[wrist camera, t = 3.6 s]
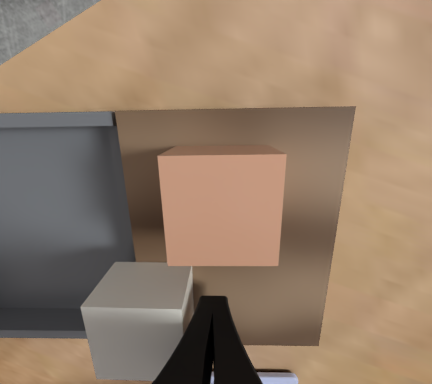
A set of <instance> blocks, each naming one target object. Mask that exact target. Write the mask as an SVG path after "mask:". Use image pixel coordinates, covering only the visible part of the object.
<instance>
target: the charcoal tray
mask: <svg viewBox="0 0 432 384" xmlns="http://www.w3.org/2000/svg"><path fill="white" fill-rule="evenodd" d="M115 262H136V258H135V251H134V244H133V237H132V230H131V223H130V216H129V208H128V201H127V194H126V187H125V180H124V173H123V166H122V158H121V151H120V144H119V137H118V130H117V123H116V116H115V112H112V111H107V112H55V113H2V114H0V338H83V339H87V334H86V330H85V325H84V321H83V317H82V312H81V308H80V307H81V305H82V304H83V303H84V302H85V300H86V299H87V298H88V296H89V295H90V294H91V293H92V291H93V290H94V289H95V287H96V286H97V285H98V283H99V282H100V281H101V280H102V278H103V277H104V276H105V274H106V273H107V272H108V271H109V269H110V268H111V267H112V265H113V264H114V263H115Z"/></svg>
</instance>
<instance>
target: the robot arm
mask: <svg viewBox="0 0 432 384" xmlns="http://www.w3.org/2000/svg"><path fill="white" fill-rule="evenodd" d="M212 365H213V366H214V372H213V371H212ZM152 384H298V379H297V376H296V374H294V373H278V372H256V370H255V368H254V367H253V365H252V363H251V361H250V359H249V357H248V355H247V353H246V350H245V348H244V346H243V344H242V342H241V339H240V337H239V334H238V332H237V329H236V327H235V324H234V321H233V318H232V315H231V312H230V308H229V304H228V298H227V297H226V296H203V295H202V296H201V297H200V298H199V302H198V304H197V307H196V310H195V312H194V314H193V316H192V319H191V321H190V323H189V325H188V327H187V329H186V331H185V333H184V335H183V336H182V338H181V340H180V342H179V343H178V345H177V347H176V349H175V350H174V352H173V354H172V355H171V357H170V358H169V360H168V361H167V363H166V364H165V366H164V367H163V369H162V370H161V372H160V373H159V375H158V376H157V377H156V379H155V380H154V381H153V383H152Z"/></svg>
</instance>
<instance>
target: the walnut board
mask: <svg viewBox="0 0 432 384" xmlns="http://www.w3.org/2000/svg"><path fill="white" fill-rule="evenodd" d="M355 108H356V106H350V107H297V108H245V109H192V110H140V111H115V116H116V123H117V130H118V137H119V144H120V151H121V158H122V166H123V173H124V180H125V187H126V194H127V201H128V208H129V216H130V223H131V230H132V237H133V244H134V251H135V258H136V262H162V263H167V254H166V243H165V232H164V221H163V211H162V200H161V189H160V178H159V168H158V157H157V156H158V155H160V154H162V153H164V152H166V151H168V150H170V149H172V148H174V147H175V146H223V145H269V146H271V147H273V148H275V149H277V150H279V151H281V152H283V153H285V154H287V157H286V171H285V184H284V197H283V210H282V224H281V237H280V250H279V263H278V266H192V274H193V299H194V312H195V310H196V307H197V304H198V302H199V298H200V297H201V296H202V295H203V296H226V297H227V298H228V304H229V308H230V312H231V315H232V318H233V321H234V324H235V327H236V329H237V332H238V334H239V337H240V339H241V342H242V344H243V345H282V346H319V340H320V333H321V327H322V320H323V314H324V307H325V301H326V295H327V288H328V282H329V275H330V269H331V262H332V256H333V250H334V243H335V237H336V230H337V224H338V217H339V211H340V204H341V198H342V192H343V185H344V179H345V172H346V166H347V159H348V153H349V147H350V140H351V134H352V127H353V121H354V114H355Z"/></svg>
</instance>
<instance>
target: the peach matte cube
mask: <svg viewBox="0 0 432 384" xmlns="http://www.w3.org/2000/svg"><path fill="white" fill-rule="evenodd" d="M157 157H158V168H159V178H160V189H161V200H162V211H163V221H164V232H165V243H166V254H167V264H168V266H278V263H279V250H280V237H281V224H282V210H283V197H284V184H285V171H286V157H287V154H285V153H283V152H281V151H279V150H277V149H275V148H273V147H271V146H269V145H223V146H175V147H174V148H172V149H170V150H168V151H166V152H164V153H162V154H160V155H158V156H157Z"/></svg>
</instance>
